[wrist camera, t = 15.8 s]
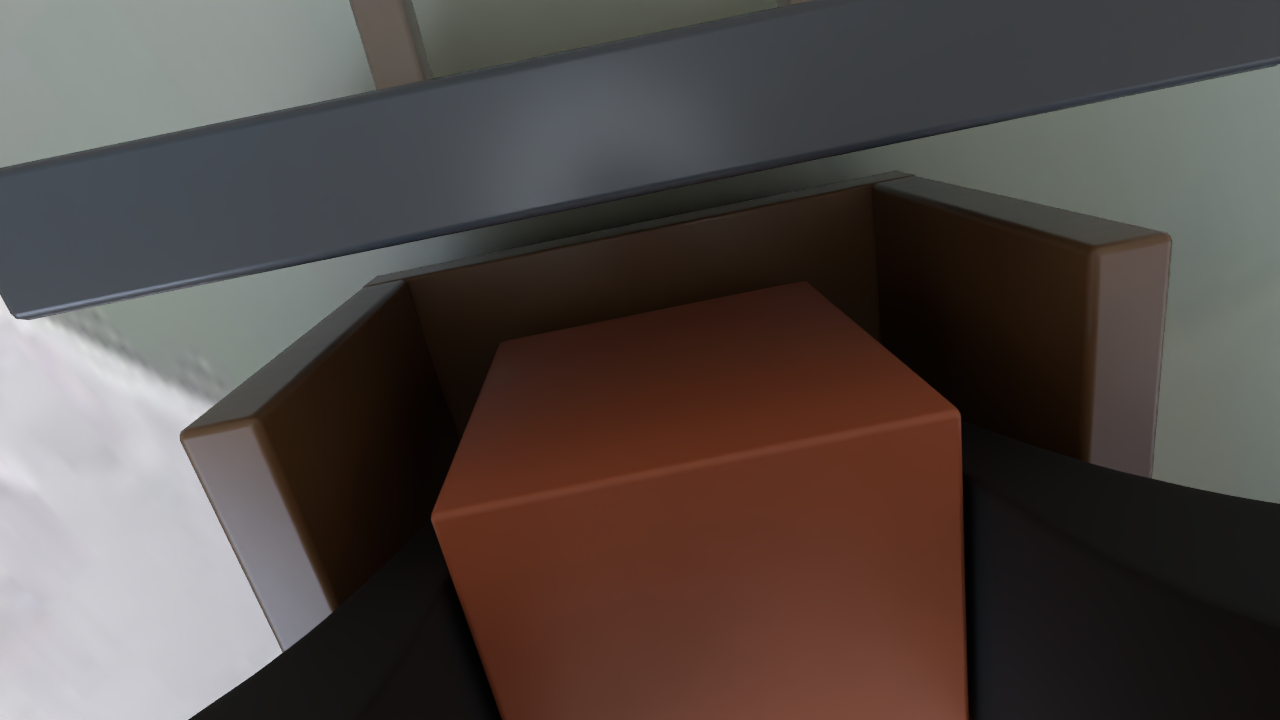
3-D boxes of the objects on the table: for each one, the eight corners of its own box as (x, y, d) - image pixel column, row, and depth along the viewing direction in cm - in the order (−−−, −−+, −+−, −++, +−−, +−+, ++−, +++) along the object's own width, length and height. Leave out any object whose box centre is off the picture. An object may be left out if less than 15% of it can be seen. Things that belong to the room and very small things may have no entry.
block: (498, 340, 11) (425, 517, 6) (806, 277, 10) (965, 409, 6) (568, 590, 12) (553, 874, 8) (834, 537, 12) (974, 792, 8)
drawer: (174, -192, 10) (-549, -700, 4) (908, -348, 10) (1464, -1149, 4) (488, 687, 16) (417, 1069, 10) (945, 598, 16) (1176, 924, 10)
